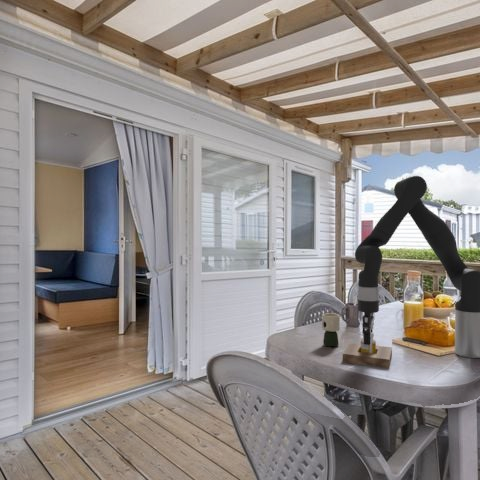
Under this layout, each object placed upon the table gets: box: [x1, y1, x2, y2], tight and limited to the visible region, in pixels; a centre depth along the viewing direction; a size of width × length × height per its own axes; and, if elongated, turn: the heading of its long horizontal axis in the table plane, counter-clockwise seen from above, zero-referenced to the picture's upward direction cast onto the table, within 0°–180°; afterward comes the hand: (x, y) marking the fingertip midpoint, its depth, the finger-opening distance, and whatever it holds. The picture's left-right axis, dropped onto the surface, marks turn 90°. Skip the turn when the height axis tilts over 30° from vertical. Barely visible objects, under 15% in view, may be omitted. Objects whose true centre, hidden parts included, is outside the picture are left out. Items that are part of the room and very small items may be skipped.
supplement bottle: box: [360, 332, 377, 354], centre depth 144 cm, size 5×5×10 cm
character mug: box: [321, 312, 341, 348], centre depth 160 cm, size 11×7×13 cm, turn 175°
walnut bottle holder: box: [342, 342, 393, 369], centre depth 144 cm, size 16×16×3 cm
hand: (368, 341), depth 144 cm, fingers open, 8 cm apart
